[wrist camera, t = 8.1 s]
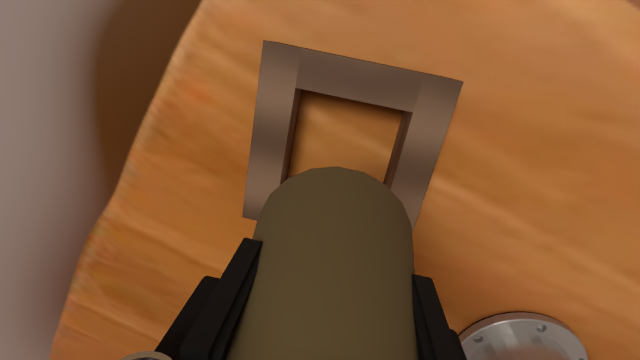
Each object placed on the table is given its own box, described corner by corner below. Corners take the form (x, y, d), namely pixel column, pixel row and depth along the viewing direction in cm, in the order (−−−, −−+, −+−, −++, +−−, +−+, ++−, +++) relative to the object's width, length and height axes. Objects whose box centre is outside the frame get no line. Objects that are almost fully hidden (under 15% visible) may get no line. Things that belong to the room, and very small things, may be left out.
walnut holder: (399, 230, 29) (405, 252, 26) (254, 199, 29) (242, 217, 26) (448, 77, 25) (463, 81, 21) (275, 41, 25) (263, 40, 21)
